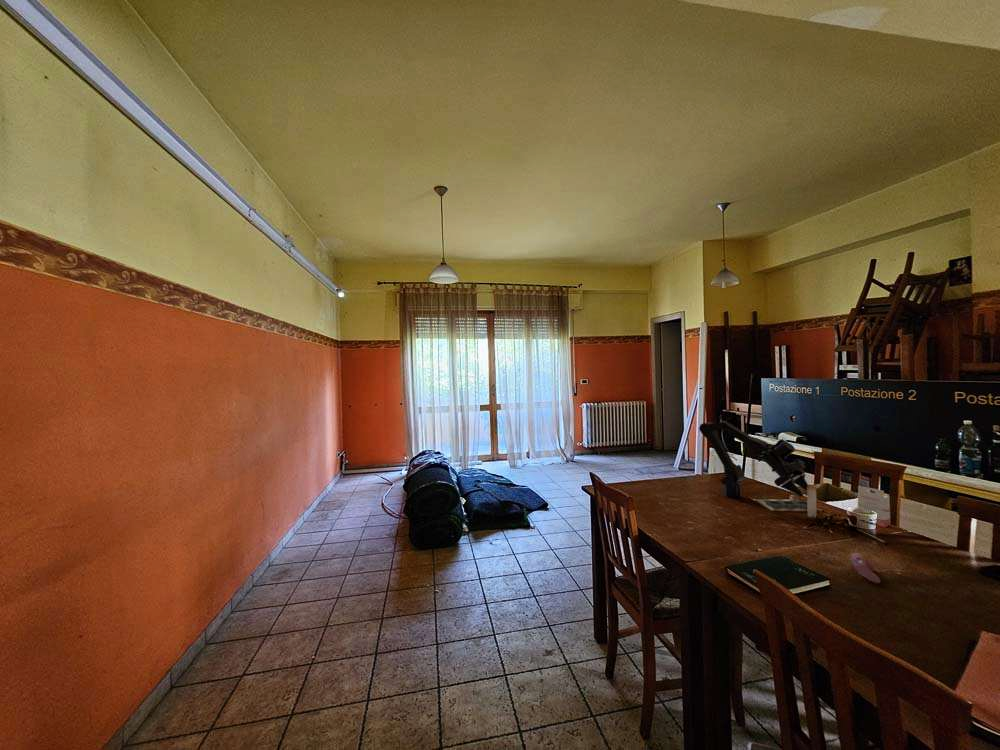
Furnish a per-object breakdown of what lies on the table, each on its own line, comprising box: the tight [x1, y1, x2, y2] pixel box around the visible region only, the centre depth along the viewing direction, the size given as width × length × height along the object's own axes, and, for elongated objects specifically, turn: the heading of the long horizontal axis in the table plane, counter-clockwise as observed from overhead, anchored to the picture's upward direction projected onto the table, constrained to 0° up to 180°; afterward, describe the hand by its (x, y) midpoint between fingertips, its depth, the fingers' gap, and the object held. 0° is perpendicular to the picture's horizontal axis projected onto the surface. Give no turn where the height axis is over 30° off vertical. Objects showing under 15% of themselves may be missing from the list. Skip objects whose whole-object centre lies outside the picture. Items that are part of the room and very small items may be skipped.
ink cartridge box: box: [857, 485, 891, 528], centre depth 153 cm, size 9×5×15 cm, turn 25°
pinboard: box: [756, 494, 808, 512], centre depth 173 cm, size 19×12×4 cm, turn 84°
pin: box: [806, 484, 817, 518], centre depth 161 cm, size 3×3×13 cm
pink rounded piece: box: [850, 552, 881, 584], centre depth 116 cm, size 10×5×7 cm, turn 141°
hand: (806, 493), depth 163 cm, fingers open, 9 cm apart
